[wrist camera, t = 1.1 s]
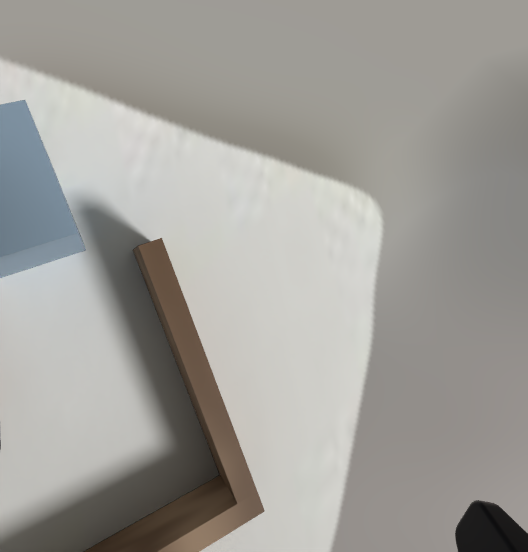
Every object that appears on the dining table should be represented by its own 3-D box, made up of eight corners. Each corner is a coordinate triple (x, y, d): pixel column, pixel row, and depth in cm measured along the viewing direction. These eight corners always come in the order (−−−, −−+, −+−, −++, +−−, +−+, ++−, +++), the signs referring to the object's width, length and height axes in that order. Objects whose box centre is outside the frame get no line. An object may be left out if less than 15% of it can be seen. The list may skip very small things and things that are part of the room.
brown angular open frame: (6, 619, 22) (-10, 680, 19) (-130, 338, 20) (-174, 350, 17) (244, 482, 27) (264, 511, 23) (153, 243, 25) (161, 237, 21)
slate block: (-2, 278, 22) (-76, 280, 12) (-38, 195, 21) (-143, 133, 12) (86, 250, 23) (78, 232, 14) (54, 171, 23) (25, 100, 13)
